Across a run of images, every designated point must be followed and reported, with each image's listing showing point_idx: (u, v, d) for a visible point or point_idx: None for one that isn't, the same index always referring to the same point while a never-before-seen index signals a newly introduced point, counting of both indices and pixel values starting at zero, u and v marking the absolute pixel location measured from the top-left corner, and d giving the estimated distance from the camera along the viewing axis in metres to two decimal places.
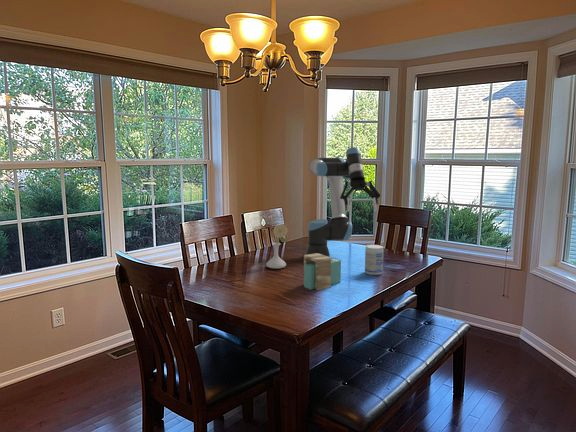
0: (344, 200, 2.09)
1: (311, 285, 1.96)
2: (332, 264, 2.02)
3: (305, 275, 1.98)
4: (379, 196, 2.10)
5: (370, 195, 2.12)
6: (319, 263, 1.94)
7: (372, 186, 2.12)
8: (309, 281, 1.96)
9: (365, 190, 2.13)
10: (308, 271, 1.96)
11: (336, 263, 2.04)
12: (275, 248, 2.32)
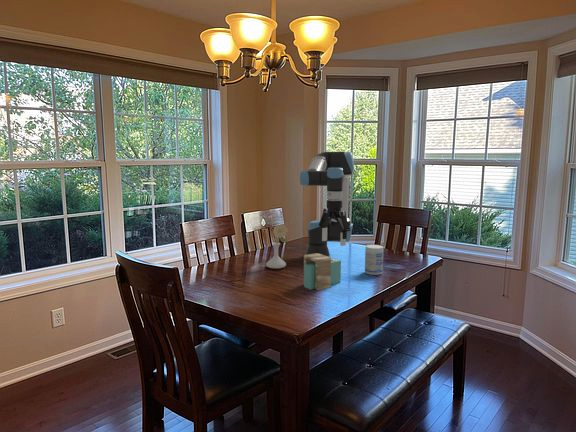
0: None
1: (311, 285, 1.96)
2: (332, 264, 2.02)
3: (305, 275, 1.98)
4: (346, 231, 1.95)
5: None
6: (319, 263, 1.94)
7: (341, 218, 1.96)
8: (309, 281, 1.96)
9: None
10: (308, 271, 1.96)
11: (336, 263, 2.04)
12: (275, 248, 2.32)
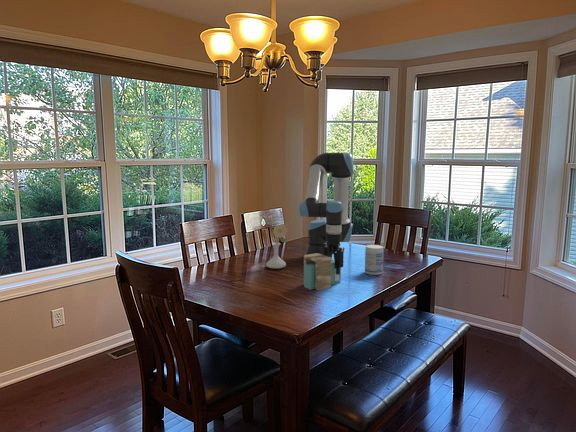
0: None
1: (311, 285, 1.96)
2: (332, 264, 2.02)
3: (305, 275, 1.98)
4: (338, 267, 2.01)
5: None
6: (319, 263, 1.94)
7: (338, 254, 2.00)
8: (309, 281, 1.96)
9: None
10: (308, 271, 1.96)
11: None
12: (275, 248, 2.32)
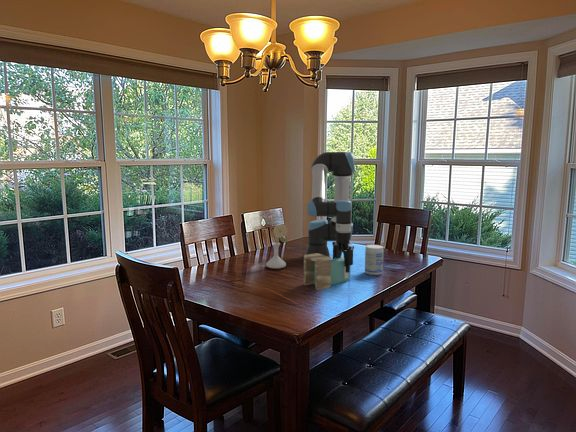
0: None
1: None
2: (342, 262, 2.06)
3: (315, 273, 2.02)
4: (348, 265, 2.05)
5: None
6: (319, 263, 1.94)
7: (348, 252, 2.04)
8: None
9: None
10: None
11: None
12: (275, 248, 2.32)
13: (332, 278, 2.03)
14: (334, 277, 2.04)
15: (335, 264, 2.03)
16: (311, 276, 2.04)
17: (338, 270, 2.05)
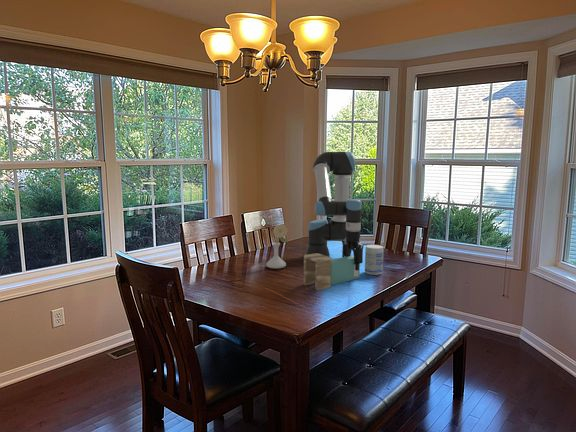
0: None
1: (332, 280, 2.04)
2: (351, 260, 2.10)
3: None
4: (358, 263, 2.08)
5: None
6: (319, 263, 1.94)
7: (358, 251, 2.07)
8: None
9: None
10: None
11: None
12: (275, 248, 2.32)
13: (342, 276, 2.07)
14: (344, 275, 2.08)
15: (345, 262, 2.07)
16: (311, 276, 2.04)
17: (348, 268, 2.09)
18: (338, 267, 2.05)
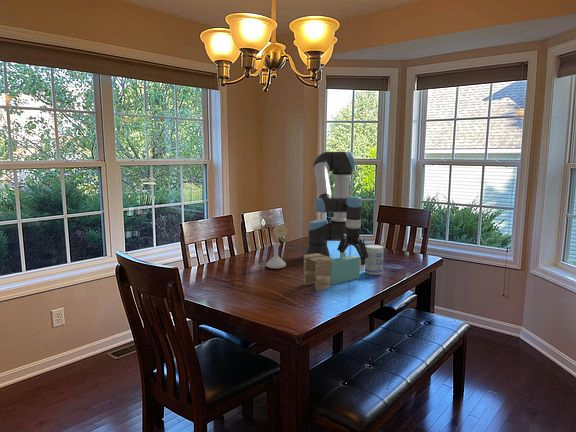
0: None
1: (332, 280, 2.04)
2: (352, 260, 2.10)
3: None
4: (364, 258, 2.05)
5: None
6: (319, 263, 1.94)
7: (360, 245, 2.06)
8: None
9: None
10: None
11: (355, 259, 2.11)
12: (275, 248, 2.32)
13: (342, 276, 2.07)
14: (344, 275, 2.08)
15: (345, 262, 2.07)
16: (311, 276, 2.04)
17: (348, 268, 2.09)
18: (338, 267, 2.05)
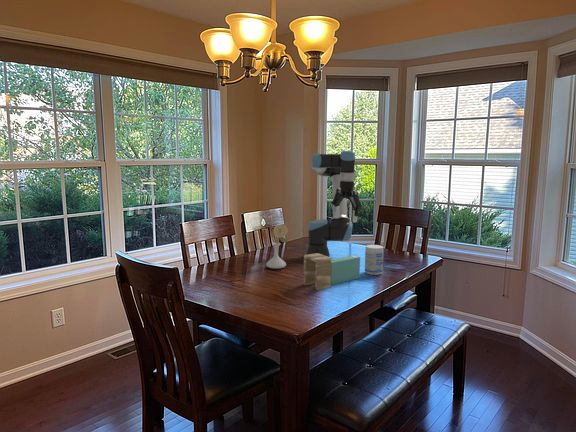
0: None
1: (332, 280, 2.04)
2: (352, 260, 2.10)
3: None
4: (357, 209, 2.14)
5: None
6: (319, 263, 1.94)
7: (354, 197, 2.15)
8: None
9: None
10: None
11: (355, 259, 2.11)
12: (275, 248, 2.32)
13: (342, 276, 2.07)
14: (344, 275, 2.08)
15: (345, 262, 2.07)
16: (311, 276, 2.04)
17: (348, 268, 2.09)
18: (338, 267, 2.05)
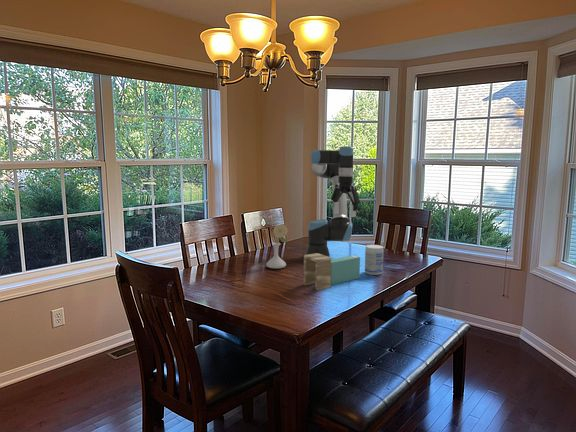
0: None
1: (332, 280, 2.04)
2: (352, 260, 2.10)
3: None
4: (356, 203, 2.16)
5: None
6: (319, 263, 1.94)
7: (352, 192, 2.17)
8: None
9: None
10: None
11: (355, 259, 2.11)
12: (275, 248, 2.32)
13: (342, 276, 2.07)
14: (344, 275, 2.08)
15: (345, 262, 2.07)
16: (311, 276, 2.04)
17: (348, 268, 2.09)
18: (338, 267, 2.05)
